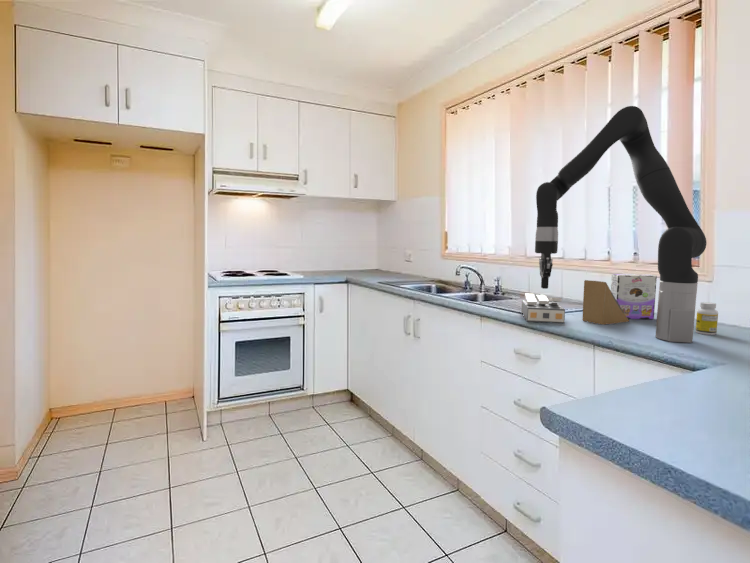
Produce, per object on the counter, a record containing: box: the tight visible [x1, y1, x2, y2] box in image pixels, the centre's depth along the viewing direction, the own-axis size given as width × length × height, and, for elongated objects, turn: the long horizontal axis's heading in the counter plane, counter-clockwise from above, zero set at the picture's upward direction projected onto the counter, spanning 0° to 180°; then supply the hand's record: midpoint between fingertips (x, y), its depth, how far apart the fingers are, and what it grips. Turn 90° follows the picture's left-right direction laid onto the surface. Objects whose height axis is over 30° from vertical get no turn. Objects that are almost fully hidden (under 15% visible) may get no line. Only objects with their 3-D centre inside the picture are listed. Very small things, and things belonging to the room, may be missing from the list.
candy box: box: [610, 273, 657, 320], centre depth 167 cm, size 14×6×16 cm, turn 84°
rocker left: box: [524, 293, 538, 305], centre depth 165 cm, size 9×3×1 cm, turn 168°
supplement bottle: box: [695, 301, 719, 336], centre depth 141 cm, size 5×5×10 cm
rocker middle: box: [535, 294, 549, 304], centre depth 164 cm, size 9×3×1 cm, turn 168°
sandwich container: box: [582, 279, 630, 326], centre depth 160 cm, size 9×15×15 cm, turn 118°
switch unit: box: [520, 300, 566, 324], centre depth 164 cm, size 19×12×6 cm, turn 168°
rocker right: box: [547, 297, 563, 303], centre depth 163 cm, size 9×3×1 cm, turn 168°
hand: (544, 288), depth 160 cm, fingers closed
